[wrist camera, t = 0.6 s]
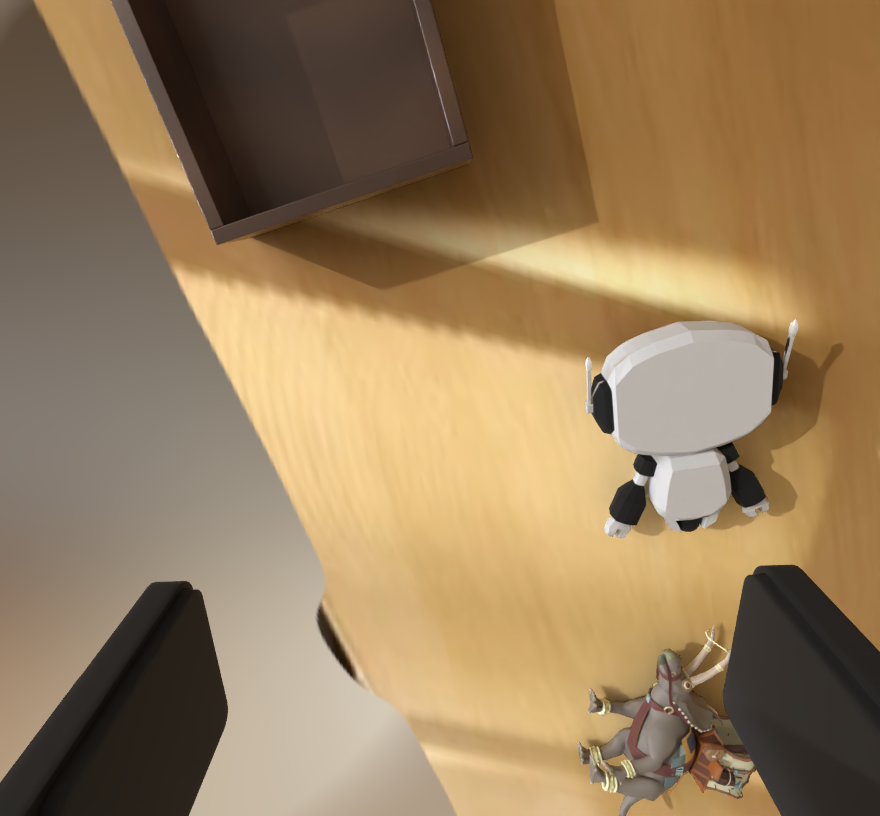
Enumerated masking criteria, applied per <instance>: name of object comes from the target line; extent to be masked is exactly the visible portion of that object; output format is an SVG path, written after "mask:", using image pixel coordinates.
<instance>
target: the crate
mask: <svg viewBox="0 0 880 816" xmlns="http://www.w3.org/2000/svg"><path fill="white" fill-rule="evenodd" d="M111 3H112V5H113V7H114V9H115V12H116V14H117V16H118V19H119V21H120V23H121V26H122V28H123V30H124V33H125V35H126V37H127V39H128V42H129V44H130V46H131V49H132V51H133V53H134V56H135V58H136V60H137V62H138V65H139V67H140V69H141V72H142V74H143V76H144V79H145V81H146V83H147V86H148V88H149V90H150V92H151V95H152V97H153V99H154V102H155V104H156V106H157V109H158V111H159V113H160V116H161V118H162V120H163V122H164V125H165V127H166V129H167V132H168V134H169V136H170V139H171V141H172V143H173V145H174V148H175V150H176V152H177V155H178V157H179V159H180V162H181V164H182V166H183V169H184V171H185V173H186V175H187V178H188V180H189V182H190V185H191V187H192V189H193V192H194V194H195V196H196V199H197V201H198V203H199V205H200V208H201V210H202V212H203V215H204V217H205V219H206V222H207V224H208V226H209V228H210V230H211V233H212V235H213V237H214V240H215V242H216V244H217V245H220V244H224V243H229V242H234V241H238V240H243V239H248V238H252V237H255V236H258V235H261V234H264V233H267V232H270V231H273V230H276V229H279V228H282V227H284V226H287V225H290V224H293V223H296V222H299V221H302V220H305V219H308V218H311V217H314V216H317V215H320V214H323V213H326V212H329V211H332V210H335V209H338V208H341V207H344V206H347V205H350V204H353V203H355V202H358V201H361V200H364V199H367V198H370V197H373V196H376V195H379V194H382V193H385V192H388V191H391V190H394V189H397V188H400V187H403V186H406V185H409V184H412V183H415V182H418V181H421V180H424V179H427V178H429V177H432V176H435V175H438V174H441V173H444V172H447V171H450V170H453V169H456V168H459V167H462V166H465V165H468V164H469V162H470V161H471V160H472V158H473V155H472V152H471V148H470V144H469V142H468V137H467V133H466V129H465V125H464V122H463V118H462V114H461V110H460V107H459V103H458V99H457V95H456V92H455V88H454V84H453V81H452V77H451V73H450V69H449V66H448V62H447V58H446V54H445V51H444V47H443V43H442V39H441V36H440V32H439V28H438V24H437V21H436V17H435V13H434V9H433V6H432V2H431V0H111Z"/></svg>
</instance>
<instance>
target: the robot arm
mask: <svg viewBox="0 0 880 816" xmlns="http://www.w3.org/2000/svg"><path fill="white" fill-rule="evenodd" d="M723 701H724V706H725V710H726V713H727V715H728V717H729V719H730V721H731V723H732V725H733V727H734V729H735V731H736V732H737V734H738V736H739V738H740V740H741V742H742V744H743V745H744V747H745V749H746V751H747V753H748V755H749V756H750V758H751V760H752V762H753V764H754V766H755V768H756V769H757V771H758V773H759V775H760V777H761V779H762V781H763V782H764V784H765V786H766V788H767V790H768V792H769V794H770V795H771V797H772V799H773V801H774V803H775V805H776V806H777V808H778V810H779V812H780V814H781V816H880V652H879V651H878V650H877V649H876V647H875V646H874V645H873V644H872V643H871V642H870V641H869V640H868V639H867V638H866V637H865V636H864V635H863V634H862V633H861V632H860V631H859V630H858V628H857V627H856V626H855V625H854V624H853V623H852V622H851V621H850V620H849V619H848V618H847V617H846V616H845V615H844V614H843V613H842V612H841V610H840V609H839V608H838V607H837V606H836V605H835V604H834V603H833V602H832V601H831V600H830V599H829V598H828V597H827V596H826V595H825V594H824V592H823V591H822V590H821V589H820V588H819V587H818V586H817V585H816V584H815V583H814V582H813V581H812V580H811V579H810V578H809V577H808V576H807V575H806V573H805V572H804V571H803V570H802V569H800V568H799V567H798V566H795V565H770V566H759V567H757V568H756V569H755V570H754V573H753V575H748V576H747V577H746V578H745V580H744V584H743V589H742V595H741V600H740V605H739V611H738V616H737V621H736V627H735V632H734V637H733V643H732V648H731V653H730V659H729V664H728V669H727V675H726V680H725V685H724V690H723ZM227 714H228V705H227V699H226V695H225V691H224V686H223V682H222V678H221V673H220V669H219V665H218V660H217V656H216V652H215V647H214V643H213V639H212V635H211V630H210V626H209V622H208V617H207V613H206V608H205V605H204V600H203V596H202V593H201V592H200V591H199V590H193V588H192V585H191V584H190V583H189V582H187V581H179V582H178V581H174V582H154V583H152V584H150V585H149V586H148V587H147V589H146V590H145V591H144V593H143V594H142V595H141V597H140V598H139V599H138V601H137V602H136V603H135V605H134V606H133V607H132V609H131V610H130V611H129V613H128V614H127V615H126V617H125V618H124V619H123V621H122V622H121V623H120V625H119V626H118V628H117V629H116V630H115V631H114V633H113V634H112V635H111V637H110V638H109V639H108V641H107V642H106V643H105V645H104V646H103V647H102V649H101V650H100V651H99V653H98V654H97V655H96V657H95V658H94V659H93V661H92V662H91V664H90V665H89V666H88V667H87V669H86V670H85V671H84V673H83V674H82V675H81V676H80V677H79V679H78V680H77V681H76V683H75V684H74V685H73V687H72V688H71V689H70V690H69V692H68V693H67V695H66V696H65V697H64V698H63V700H62V702H60V704H59V705H58V706H57V708H56V709H55V710H54V712H53V713H52V714H51V716H50V717H49V718H48V720H47V721H46V722H45V724H44V725H43V726H42V728H41V729H40V730H39V732H38V733H37V734H36V736H35V737H34V739H33V740H32V741H31V742H30V744H29V745H28V746H27V748H26V749H25V750H24V752H23V753H22V754H21V756H20V757H19V759H18V760H17V761H16V762H15V764H14V765H13V766H12V768H11V769H10V770H9V772H8V773H7V774H6V776H5V777H4V778H3V780H2V781H1V782H0V816H189V813H190V811H191V809H192V806H193V804H194V801H195V799H196V796H197V794H198V791H199V789H200V787H201V784H202V782H203V779H204V777H205V774H206V772H207V770H208V767H209V765H210V762H211V760H212V757H213V755H214V753H215V750H216V748H217V745H218V742H219V740H220V738H221V735H222V733H223V731H224V728H225V725H226V721H227Z"/></svg>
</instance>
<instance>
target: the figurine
mask: <svg viewBox="0 0 880 816" xmlns="http://www.w3.org/2000/svg"><path fill="white" fill-rule="evenodd" d="M710 630H712V631H710ZM707 632H711V635H710V638H709V636H708V635H707ZM705 634H706V636H707V637H708V639H709V640H708V641H707V643H706V644H705V645H704V647H703V649H702V650H701V652H700V653H699V654H698V655H697V656H696V657H695V658H694V659H693V660H692V661H691V662H690V663H689V664H688V665H687V666H686V667H684V668H682V667H681V665H680V664H681V657H680V655H677V654H676V653H675V652H674V651H672V650H671V649H666V650H662V652H663V653H664V654H663V655H660V656H659V657H658V660H657V667H656V677H657V679H658V680H659V682H657V683H655V684H654V685H652V687H651V688H650V689H649V692H648V695H647V696H645V697H643V698H637V699H631V700H629V701H627V702H625V703H624V702H617V701H608V700H606V699H605V697H604V698H603V699H601V698H597V697H596V695H595V693H594V692H593V690H592V689H591V688H590V701H591V704H590V707H589V710H588V713H591V712H592V713H595V712H598V713H599V714H602V715H603V716H604V714H608V713H609V712H612V713H617V714H621V715H624V716H626V717H630V718H633V719H634V721H633V723H632V726H631V728H625V729H623V730H621V731H619V733H618V734H617V735H616V736H615V737H614V738H613V739H612V740H611V741H610V742H608V743H607V744H605V745H603V746H601V747H598V746H597V748H596V747H595V746H594V745H593V747H592V748H590V747H589V749H586V748H584V747H582V746H581V743H580V742H578V750H579V754H580V759H581V764H590V779H591V784H593V783H594V782H595V783H596V782H601V783H602V787H603V789H604V790H605V791H607V790H609V791H610V792H611V793H612V792H614V793H615V792H618V793H622V794H624V795H625V797H624V799H623V802H622V805H621V808H620V811H619V816H626V814H627V812H628V810H629V808H630V807H631V806H632V805H633V804H634V803H636V802H637V801H639V800H641V799H643V798H646V799H648V800H650V801H654V800H655V799H656V798H658V797H659V796H660V795H661V794H662V793H663V792H664V791H666V790H667V789H668V788H671V787H672V786H673V787H672V788H671V789H670V790H669V791H668V793H669V792H670V791H672V790H673V789H674V787H675V786H676V785H677V784H678V783H679V781H680V780H681V779H682V778H683V776H684V775H685V774H686V772H687V771H689V772H690V774H691V775H692V776H693V778H694V779H695V781H696V783H697V785H698V786H699V788H700V790H701V792H702V793H704V790H705V789H710V790H716V791H719V792H721V793H722V794H724V795H729V796H731V797H734V798H736V799H739V798H741V794H742V791H741V790H740V789H743V787H744V786H745V785H746V784H747V783H748V782H749V778H750V775H751V774H752V772H755V771H756V768H755V766H754V764H753V762H752V760H751V758H750V756H749V755H748V753H747V751H746V749H745V747H744V745H743V744H742V742H741V740H740V738H739V736H738V734H737V732H736V731H735V729H734V727H733V725H732V723H731V721H730V719H729V717H728V716H718V713H717V711H716V710H715V709H714V708H713V707H711V706H710V705H708V704H707V703H705V702H704V698H703V697H702V696H699V695H697V694H696V693H694V691H691V690H692V688H694V686H696V685H698V684H701V683H703V682H705V681H707V680H708V679H710V678H712V677H713V676H715V675H716V674H718V673H719V672H721V671H724V670H723V669H724V667H725V666H726V665H727V663H728V662H729V659H730V653H731V649H730V650H728V649H724V648H723V647H722V646H720V645H718V644H717V643H715V642H714V625H713V628H712V629H709V630H708V631H706V633H705ZM712 643H714V644H716V645H717V646H719V647H720V648H722V649H723V650H724V651H726V652H727V651H729V652H727V653H728V654H727V656H726V657H725V659H724V660H723V661H721V662H720V663H718V664H716V666H715V667H713V668H711V669H710V670H708V671H706V672H703V673H701V674H698V675H696V676H693V677H689V675H690V674H691V673H693V672H694V671H695V670H696V669H697V668H698V667H699V665H700V664H701V663H702V661H703V660H704V659H705V657H706V656H707V654H708V653H709V652H710V651H711V649H712V648H711V646H712ZM708 708H709V709H711V710H713V711H714V712H715V713H716V714H715V713H714V712H712V711H711V710H709V709H708ZM622 753H623V754H624V755H625V756H626V757H627V761H626V760H623V762H622V761H621V766H613V765H609V764H608V763H607V762H603V761H602V760H608V759H610V758H613V757H616V756H619V755H621V754H622ZM600 763H602V765H604V766H605V768H606V769H607V770H608V771H607V770H606V771H605V770H601V769H600V768H599V764H600ZM626 776H627V777H626ZM740 791H741V792H740ZM742 797H743V794H742Z"/></svg>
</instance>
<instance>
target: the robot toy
mask: <svg viewBox="0 0 880 816" xmlns="http://www.w3.org/2000/svg"><path fill="white" fill-rule="evenodd" d="M798 327H799V326H798V324H797V321H796V320H794V321H793V322H792V323H790V326H789V330H788V331H789V335H788V339H787V343H786V347H785V351H784V355H783V359H782V360H781V357H780V354H779V353H778V352H777V351H775V350H773V349H772V348H770V346H769V344H768V341H767V340H766V339H764V338H762V337H761V336H759V335H757V334H755V333H754V332H752V331H750V330H748V329H746V328H744V327H742V326H740V325H738V324H735V323H730V322H721V321H688V322H676V323H673V324H670V325H667V326H664V327H661V328H658V329H655V330H652V331H649V332H646V333H643V334H641V335H639V336H636V337H634V338H632V339H630V340H628V341H626V342H624V343H623V344H621V345H619V346H618V347H617V348H616V349H615V350H614V351H613V352H611V353H610V354H609V355H608V356H607V357H606V360H605V363H604V366H603V369H602V372H601V373H600V374H599V375H597V376H595V377H594V380H593V384H592V387H591V370H592V363H591V361H590V359H589V357H588V358H587V359H586V369H587V401H585V408H586V411H587V413H592V415H593V417H594V419H595V420H596V422H597V424H598V425H599V427H600V428H601V430H602V431H603V432H604V433H608V434H611V435H612V436H613V438H614V439H615V440H616V442H617V443H618V445H619V446H620V447H621V448H624V449H626V450H628V451H630V452H633V453H636V454H638V455H637V457H636V459H635V462H634V464H633V465H634V469H635V470H636V471H637V472H636V474H635V476H634V478H633V479H632V480H631V481H629V482H627V483H625V484H624V485H622V486H621V487H619V488H618V490H617V492H616V494H615V496H614V499H613V501H612V503H611V505H610V507H609V510H610V514H611V516H612V517H610V518H609V519H608V520H607V521H606V525H605V530H604V531H605V532H606V533H607V534H608V535H609V536H612V537H613V535H614V533H615V531H616V530H617V531H616V533H615V535H616V537H617V538H624V537H626V535H627V534H628V533H629V532H630V529H631V525H637V523H638V521H639V519H640V517H641V515H642V513H643V511H644V509H645V506H646V498H645V492H646V494H647V496H648V498H649V499H650V501H651V503H652V504H653V506H654V508H655V509H656V511H657V513H658V514H659V515H661V516H662V517H663V518H664V520H665V521H666V523H667V525H668V526H669V528H670V529H671V530H675V531H679V532H681V530H682V531H686V532H691V531H694V530H695V529H697V527H698V526H699V523H700V525H701V526H702V528H703V529H704V528H706V527H708V526H709V525H711V524H713V523H715V521H716V519H717V517H718V514H719V512H720V510H721V508H722V507H723V506H724V505H725V504H726V503H727V502H728V499H729V497H730V495H731V494H732V496H733V497H734V499H735V501H736V502H737V503H738V504H739V505H741V506H742V512H744V513H745V514H746V515H747V516H749V517H752V518H753V517H757V516H758V514H757V513H756V511H755V509H757V508H759V509H760V510H761V511H762V513H764V512H766V511H767V510H768V509H769V502H768V498H767V497H766V495H765V493H764V490H763V488H762V487H761V485H760V483H759V481H758V480H757V478H756V476H755V474H754V473H753V472H752V471H750V470H748V469H747V468H745V467H743V466H741V465H739V464H738V463H737V462H736V459H737V458H738V457H739V455H738V452H737V450H736V449H735V447H734V445H733V443H732V441H735V440H737V439H740V438H742V437H744V436H745V435H747V434H749V433H750V432H752V431H753V430H754V429H756V428H757V427H758V426H760V425H761V424H762V423H763V422H764V421H765V419H766V418H767V417H768V415H769V414H770V413H771V406H772V405H774V404H776V403H777V401H778V397H779V394H780V391H781V389H782V384H783V380H784V379H786V378H787V375H788V370H787V369H786V368H787V364H788V360H789V356H790V352H791V349H792V345H793V341H794V337H795V334H797V331H798Z"/></svg>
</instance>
